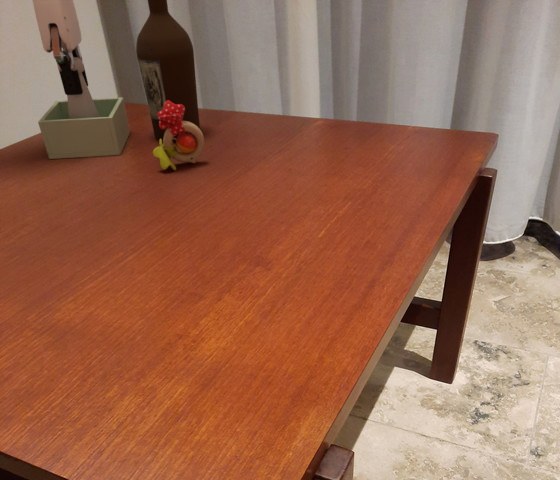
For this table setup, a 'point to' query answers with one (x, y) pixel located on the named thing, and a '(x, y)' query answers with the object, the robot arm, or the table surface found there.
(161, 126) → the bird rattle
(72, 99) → the salt shaker
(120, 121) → the bin
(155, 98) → the olive oil
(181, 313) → the table surface
